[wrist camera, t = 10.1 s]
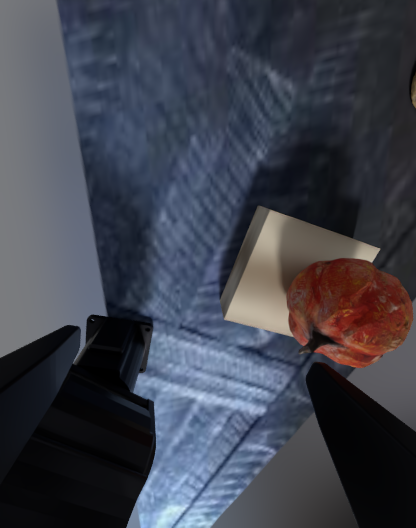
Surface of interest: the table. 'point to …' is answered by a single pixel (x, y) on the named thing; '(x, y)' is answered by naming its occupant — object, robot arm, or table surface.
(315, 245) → the pale wooden block
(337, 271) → the red oval lump
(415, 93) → the sprinkles bottle
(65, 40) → the table surface
